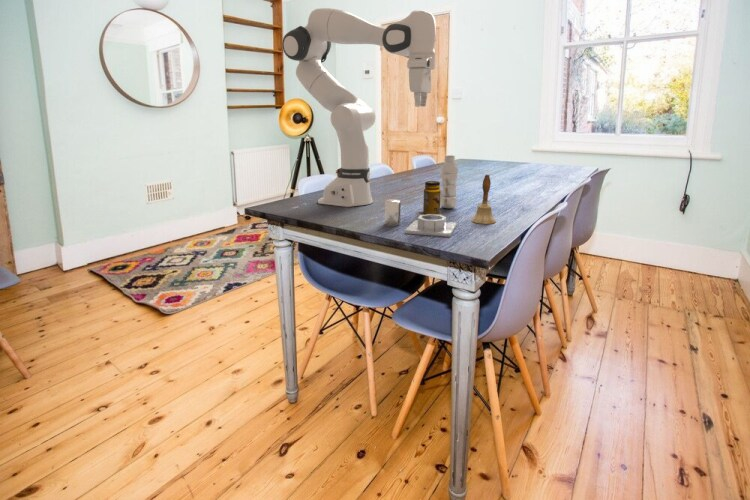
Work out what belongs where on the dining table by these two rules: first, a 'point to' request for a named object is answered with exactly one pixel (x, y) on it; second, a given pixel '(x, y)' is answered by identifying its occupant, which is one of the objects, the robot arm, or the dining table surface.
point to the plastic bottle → (448, 183)
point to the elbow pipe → (392, 212)
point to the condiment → (431, 198)
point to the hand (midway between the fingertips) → (420, 106)
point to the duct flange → (431, 226)
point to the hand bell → (484, 206)
